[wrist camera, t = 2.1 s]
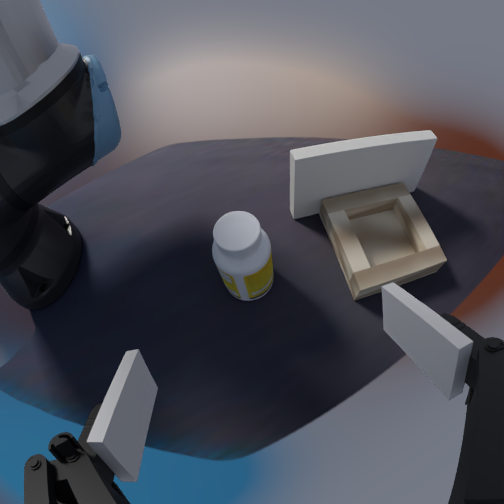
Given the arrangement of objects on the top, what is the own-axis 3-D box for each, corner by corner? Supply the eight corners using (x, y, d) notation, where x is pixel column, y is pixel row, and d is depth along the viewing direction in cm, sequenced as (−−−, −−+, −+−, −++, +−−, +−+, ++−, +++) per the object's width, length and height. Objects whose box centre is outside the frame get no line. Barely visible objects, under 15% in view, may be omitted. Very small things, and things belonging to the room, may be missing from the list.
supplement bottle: (276, 259, 34) (273, 206, 26) (270, 304, 32) (264, 263, 23) (229, 254, 35) (212, 202, 27) (220, 298, 33) (197, 256, 24)
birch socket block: (436, 271, 31) (447, 260, 29) (354, 300, 31) (360, 290, 28) (397, 197, 37) (403, 182, 34) (319, 215, 37) (321, 200, 34)
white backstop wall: (414, 191, 37) (437, 138, 29) (293, 219, 37) (295, 160, 28) (409, 183, 38) (430, 130, 29) (289, 209, 37) (290, 150, 29)
